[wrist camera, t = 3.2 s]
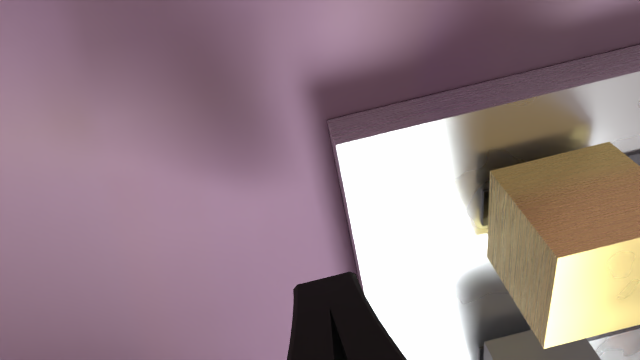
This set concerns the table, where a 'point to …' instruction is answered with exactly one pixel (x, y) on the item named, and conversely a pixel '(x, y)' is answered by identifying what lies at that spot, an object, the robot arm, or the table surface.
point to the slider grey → (536, 349)
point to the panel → (468, 195)
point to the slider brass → (569, 241)
